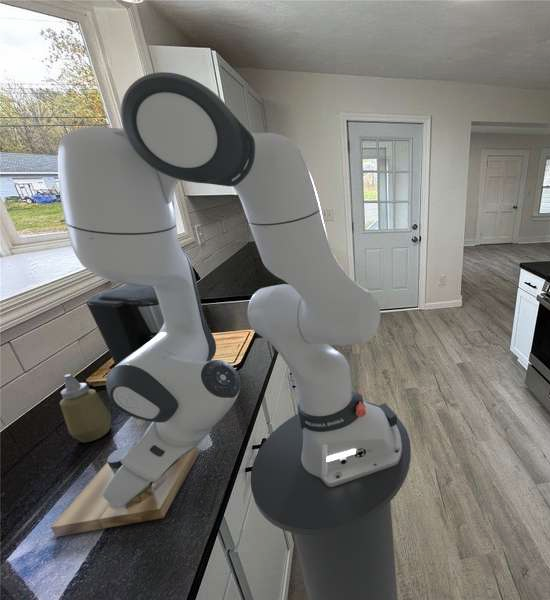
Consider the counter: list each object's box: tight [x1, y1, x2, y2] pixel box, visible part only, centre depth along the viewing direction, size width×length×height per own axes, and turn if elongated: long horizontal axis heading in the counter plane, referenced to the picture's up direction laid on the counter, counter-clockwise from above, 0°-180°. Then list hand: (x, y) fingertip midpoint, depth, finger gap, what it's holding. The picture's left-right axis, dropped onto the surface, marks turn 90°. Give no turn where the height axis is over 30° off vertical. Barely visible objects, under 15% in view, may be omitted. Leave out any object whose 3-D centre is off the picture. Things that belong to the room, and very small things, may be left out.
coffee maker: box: [85, 284, 164, 367], centre depth 93 cm, size 23×32×34 cm
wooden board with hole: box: [50, 445, 200, 537], centre depth 65 cm, size 18×16×2 cm
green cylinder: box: [106, 445, 151, 497], centre depth 62 cm, size 4×4×12 cm
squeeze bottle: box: [59, 373, 112, 443], centre depth 78 cm, size 8×8×18 cm
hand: (147, 466), depth 61 cm, fingers open, 8 cm apart
